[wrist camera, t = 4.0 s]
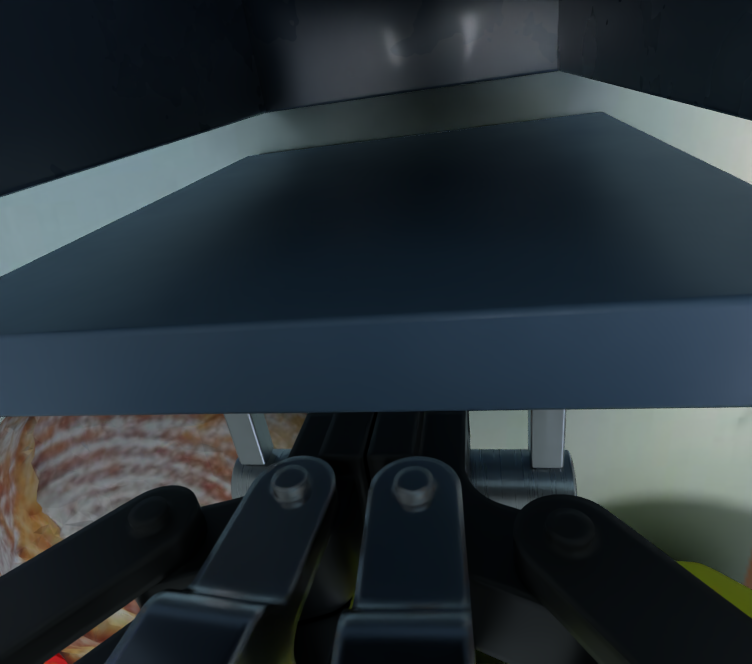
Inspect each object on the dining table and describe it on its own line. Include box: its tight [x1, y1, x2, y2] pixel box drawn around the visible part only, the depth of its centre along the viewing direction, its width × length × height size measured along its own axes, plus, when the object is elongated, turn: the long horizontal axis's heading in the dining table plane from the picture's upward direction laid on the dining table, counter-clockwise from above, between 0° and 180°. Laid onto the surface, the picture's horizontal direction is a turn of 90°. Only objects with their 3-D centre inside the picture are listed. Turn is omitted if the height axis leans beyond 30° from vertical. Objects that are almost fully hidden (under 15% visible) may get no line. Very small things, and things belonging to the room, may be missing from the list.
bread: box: [0, 413, 307, 664], centre depth 23 cm, size 16×20×10 cm
